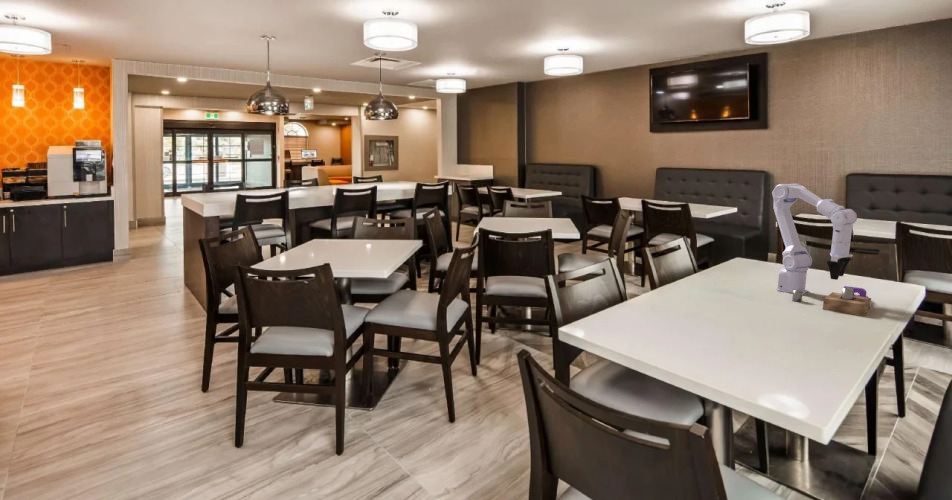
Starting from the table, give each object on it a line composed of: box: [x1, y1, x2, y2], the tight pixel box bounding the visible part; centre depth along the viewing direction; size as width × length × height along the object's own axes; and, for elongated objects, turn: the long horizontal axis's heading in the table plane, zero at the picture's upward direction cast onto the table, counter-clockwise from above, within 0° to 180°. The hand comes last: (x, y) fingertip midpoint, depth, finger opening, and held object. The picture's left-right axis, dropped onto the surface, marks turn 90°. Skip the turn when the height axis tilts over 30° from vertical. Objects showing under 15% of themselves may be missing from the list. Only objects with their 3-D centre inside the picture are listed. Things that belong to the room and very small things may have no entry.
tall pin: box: [841, 287, 853, 300], centre depth 198 cm, size 3×3×8 cm
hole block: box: [822, 292, 872, 317], centre depth 198 cm, size 12×12×4 cm
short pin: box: [791, 290, 804, 303], centre depth 210 cm, size 3×3×4 cm
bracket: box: [843, 285, 869, 298], centre depth 207 cm, size 12×7×7 cm, turn 140°
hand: (836, 277), depth 207 cm, fingers open, 7 cm apart
